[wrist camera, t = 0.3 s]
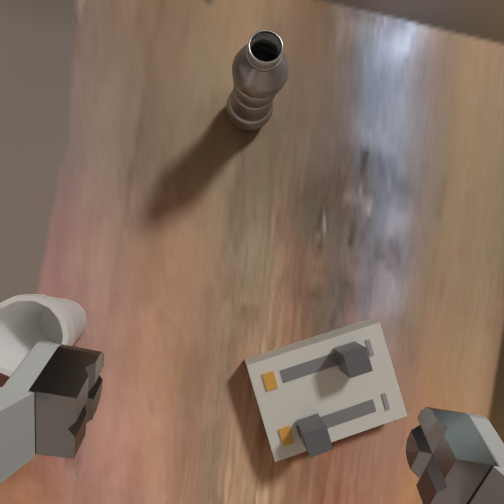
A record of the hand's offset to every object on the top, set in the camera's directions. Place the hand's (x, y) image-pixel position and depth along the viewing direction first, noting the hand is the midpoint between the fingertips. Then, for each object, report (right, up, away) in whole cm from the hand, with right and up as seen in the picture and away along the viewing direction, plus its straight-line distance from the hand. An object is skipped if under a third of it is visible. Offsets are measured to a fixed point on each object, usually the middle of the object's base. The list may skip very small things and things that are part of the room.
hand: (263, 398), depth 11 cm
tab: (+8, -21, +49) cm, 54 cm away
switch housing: (+10, -16, +53) cm, 57 cm away
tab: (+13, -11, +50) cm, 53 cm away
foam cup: (-27, -6, +50) cm, 57 cm away
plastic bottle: (-1, +25, +54) cm, 59 cm away
